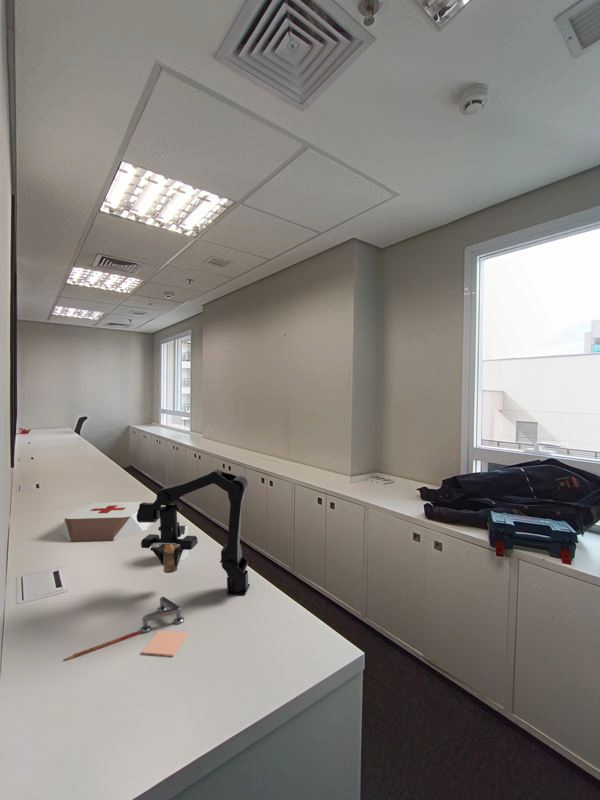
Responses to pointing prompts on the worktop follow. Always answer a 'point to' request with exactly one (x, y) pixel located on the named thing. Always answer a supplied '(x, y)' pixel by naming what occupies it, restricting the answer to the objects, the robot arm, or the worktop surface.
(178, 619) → the dark grey bent piece
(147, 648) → the terracotta mat
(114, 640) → the pencil
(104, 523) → the first aid kit
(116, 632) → the worktop surface
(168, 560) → the wooden dowel cylinder
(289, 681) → the worktop surface
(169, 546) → the small box
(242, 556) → the robot arm
